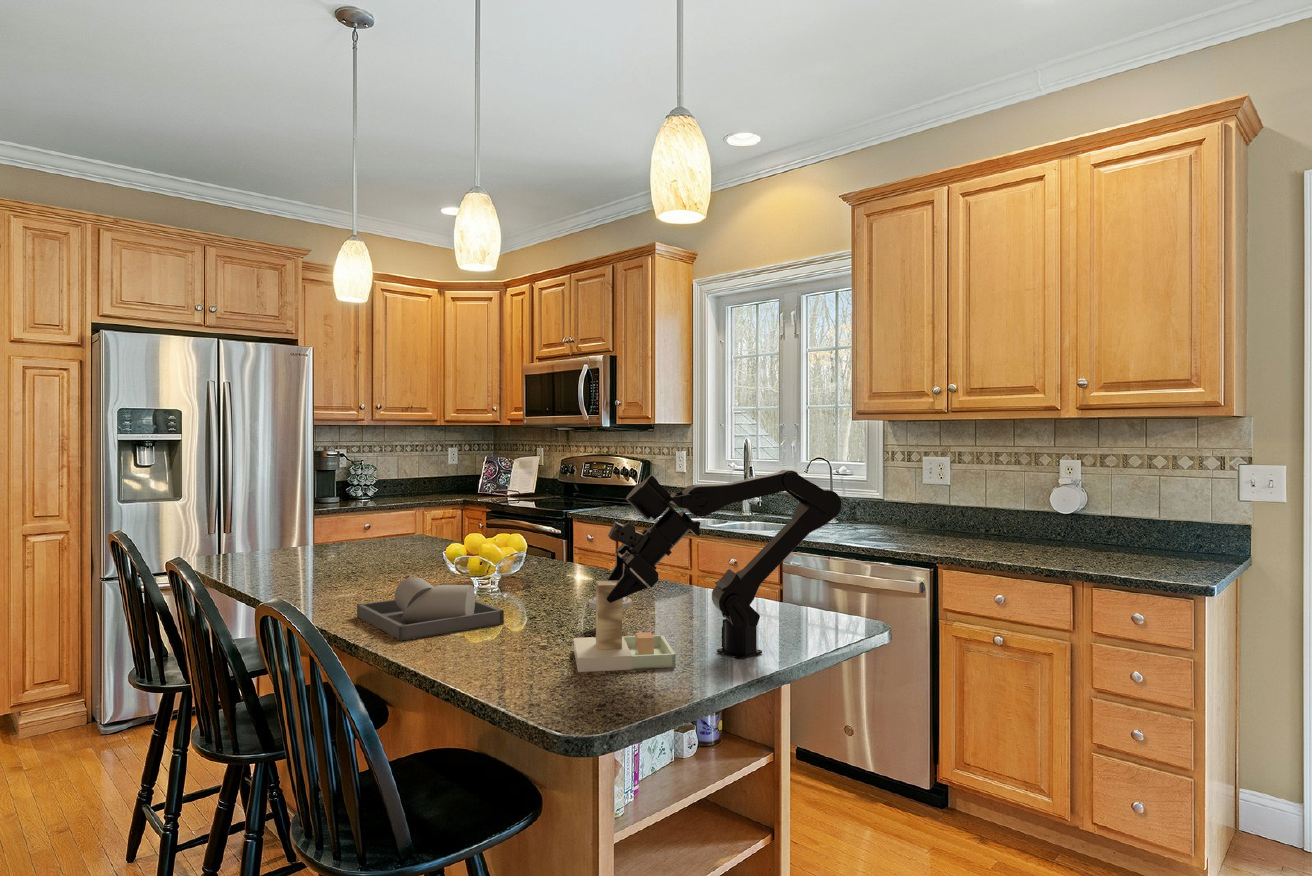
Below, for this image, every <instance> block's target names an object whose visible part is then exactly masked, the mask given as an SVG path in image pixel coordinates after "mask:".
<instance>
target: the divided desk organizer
mask: <svg viewBox="0 0 1312 876" xmlns="http://www.w3.org/2000/svg"><path fill="white" fill-rule="evenodd" d="M504 612H505V610H504V609H501V608H498V607H495V606H492V605H491V604H488V603H484V602H482V601H479V600H476V599H475V608H474V614H471V615H465V616H458V617H452V618H446V619H439V620H433V621H427V622H420V623H403V622H402V621H401V618H402V615H403V613H404V612H403V611H402V610H401V609H400V608H399V607H398V605H397V604H396V601H395V598H394V599H388V600H380V601H372V602H366V603H359V604H357V605H356V618H357V617H358V619H359V618H360V620H361V621H363V620H364V621H363V622H365V621H366V622H365V623H366V624H368V623H369V624H368V625H370V626H372V625H373V626H372V627H374V626H375V627H374V628H376V627H377V628H376V629H378V630H379V629H381V630H383V631H384V632H383V631H382V632H383V633H385V632H386V633H385V634H387V635H388V634H390V635H391V636H390V635H389V636H390V637H392V636H393V637H392V638H394V639H396V638H397V639H396V640H398V639H399V640H400V642H403V641H402V640H406V641H408V640H407V639H411V640H414V639H413V638H417V639H422V637H423V638H428V637H427V636H429V637H434V636H433V635H435V636H440V635H439V634H441V635H445V634H451V633H457V632H464V631H470V630H475V629H479V628H480V629H481V628H487V627H492V626H499V625H504V623H505V622H504V621H505V618H504V616H505V614H504ZM381 630H380V631H381ZM399 640H398V641H399Z"/></svg>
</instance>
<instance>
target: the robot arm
mask: <svg viewBox="0 0 1312 876" xmlns="http://www.w3.org/2000/svg"><path fill="white" fill-rule="evenodd" d="M784 492H786V493H787V494H788V495H790V496H791V497H792V498H794V500H795V501H798V502H799V503H798V504H797V506H796V508H795V511H794V512H793V515H792V517H791V519H789V521H788V522H787V523H786V524H785V525H784V526H783V527H782V528H781V529H780V530H779V531H778V532H777V533H776V534H775V535H774V537H772V538H771V539H770V540H769V541H768V542H767V544H766V545H764V547H763V548H762V549H761V550H760V551H759V552H758V553H757V554H756V555H755V556H754V557H753V558H752V559H751V560H750V561H749V562H748V563H747V564H746V566H744V567H743V568H742V569H740V570H738V571H736V572H735V571H733V570H732V569H730V568H728V569H727V570H726V571H725V572H724V574H723V576H721V578H720V579H719V580H716V581H715V582H714V585H715V586H714V588H713V589H712V592H711V601H712V604H713V605H714V606H715V608H717V610H718V611H719V612H720V613H721V616H722V618H724V619H722V626H721V648H717V649H716V653H719V654H723V655H726V656H728V657H731V658H735V659H739V660H742V659H745V658H749V657H753V656H757V655H761V654H763V650H762V649H758V648H757V638H758V637H757V636H758V635H757V632H758V631H757V626H758V624H759V621H760V618H761V615H760V613H758V612H757V611H756V610H755V609H754V608H753V607H752V606H751V604H752V603H753V601H754V600H755V598H756V596H757V593H758V591H759V589H760V586H761V585H762V584H763V582H764V581H766V579H767V578H768V577H769V576H770V575H771V574H772V573H773V572H774V571H775V570H776V569H777V568H778V567H779V566H780V564H781V563H782V562H784V561H785V559H786V558H787V557H788V556H789V555H790V554H791V553H792V552H793V551H794V550H795V549H796V548H797V547H798V546H799V545H800V544H801V543H802V542H803V541H804V540H805V538H806V537H807V536H808V535H810V533H812V532H815V531H816V530H818V529H821V528H822V527H824V526H826V525H828V523H830V522H831V521H832V520H834V519H835V518H837V517H838V516H839V514H840V513H841V511H842V500H841V497H840V495H839V494H838V493H837V492H835V491H833V490H830V489H826V488H825V489H824V488H821V487H820V486H818V485H817V484H815V483H813V482H812V481H809V480H808V479H806V478H804V477H803V476H802V475H800V474H799V473H798V472H797V471H794V470H791V469H782V470H780V471H777V472H773V473H768V474H764V475H760V476H759V475H758V476H755V477H750V478H746V479H741V480H738V481H733V482H727V483H706V484H705V483H703V484H702V483H701V484H691V485H688V486H686V487H685V488H684V489H683V491H677V492H673V491H672V492H671V493H669V492H668V491H667V490H666V489H665V487H664V486H662V485H661V483H660V482H659V481H658V480H657V478H656V477H655V476H654V475H652V474H649V476H647V477H646V478H645V479H644V480H643V481H642V482H640V483H639V484H638V485H635V487H634V488H632V489H631V491H630V492H629V493H628V494H627V496H626V498H625V500H626V501H627V502H628V503H629V504H630V505H631V506H632V507H633V508H634V509H635V510H636V511H637V512H638V513H639V514H640V515H641V516H642V517H643V518H644V519H645V520H648V519H653V521H654V520H656V522H655V523H653V525H652V526H651V527H650V528H644V529H643V530H642V531H641V532H639V531H637V530H636V526H635V525H632V524H630V523H628V522H626V523H624V524H622V523H620V522H618V521H614V522H613V523H612V526H611V528H610V531H609V533H608V535H607V537H608V538H609V539H610V540H612V541H614V542H618V543H621V544H620V546H618V547H617V548H616V551H617V553H616V552H615V555H614V556H615V564H614V565H615V566H614V567H613V569H612V571H611V573H609V574H610V575H608V577H607V579H606V581H614V580H619V581H618V582H617V584H616V585H615V587H614V588H613V589H612V591H611V592H610V594H609V595H608V597H607V598H606V599H607V601H608V602H609V603H612V602H614V601H616V600H619V599H621V598H623V597H628V596H630V595H632V594H636V593H638V592H641V591H643V590H648V589H649V587H650V588H653V587H654V586H655V585H656V583H657V582H658V581H659V572H658V571H657V565H658V564H659V563H660V562H661V561H662V560H663V558H665V557H666V556H668V557H669V556H670V555H671V554H672V550H673V548H674V547H675V546H676V545H677V544H678V543H679V542H680V541H681V540H682V539H683V538H684V537H685V536H686V535H687V533H689V532H691V533H692V534H693V535H695V536H697V537H700V535H701V531H700V526H701V521H699V520H693V519H692V518H691V517H690V516H689V515H688V514H687V513H686V512H688V513H689V514H692V515H694V516H696V517H705V516H708V515H711V514H712V513H715V512H717V511H720V510H722V509H723V508H725V507H727V506H729V505H731V504H734V503H737V502H738V503H739V502H742V501H747V500H752V499H756V498H760V497H761V498H762V497H765V496H770V495H774V494H779V493H784ZM670 504H672V505H674V506H676V507H678V508H682V509H684V510H685V511H686V512H685V511H683V510H682V511H679V512H677V511H676V509H675V508H673V506H672V505H670ZM667 509H668V510H667ZM658 518H659V519H658ZM657 519H658V520H657ZM648 586H649V587H648Z"/></svg>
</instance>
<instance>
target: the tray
mask: <svg viewBox="0 0 1312 876" xmlns="http://www.w3.org/2000/svg"><path fill="white" fill-rule="evenodd" d="M652 635H653V637H654V654H651V655H636V654H635V635H628V636H627V635H626V636H623V635H622V636H623V637H624V639H625V641H626V644H627V646H628V648H629V650H630V652H631V654H632V671H633V670H648V669H653V670H654V669H672V668H674V669H675V668H676V665H677V663H676V662H677V661H676V660H677V659H676V658H677V657H676V652H675V651H674V649H673V648H672V646H671V645H670V644H669V642H668V641H667V639H666V638H665V636H664V634H656V635H655V634H652Z"/></svg>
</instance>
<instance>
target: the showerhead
mask: <svg viewBox="0 0 1312 876" xmlns="http://www.w3.org/2000/svg"><path fill="white" fill-rule="evenodd" d="M632 601H633V600H632V599H631V598H630V597H628V596H626V597H623V598H622V611H623V610H627V609H630V608H631V607H632ZM588 607H589V608H590V609H592V610H595V611H596V596H593V597H592V598H589V599H588Z"/></svg>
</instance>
